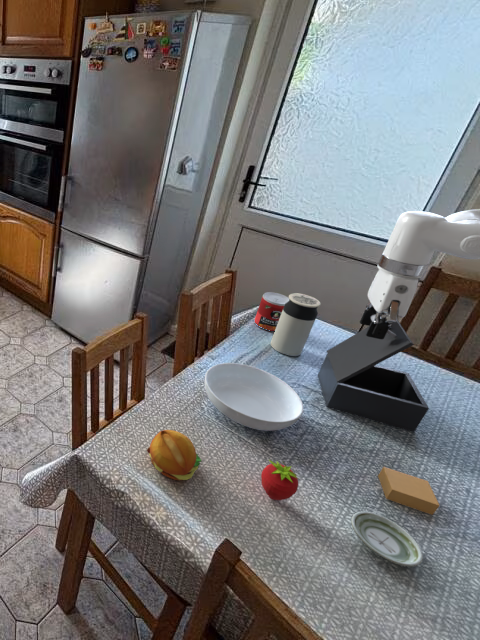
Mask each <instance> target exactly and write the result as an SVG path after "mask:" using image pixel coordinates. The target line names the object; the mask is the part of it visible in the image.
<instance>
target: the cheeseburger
mask: <svg viewBox="0 0 480 640" xmlns="http://www.w3.org/2000/svg"><path fill="white" fill-rule="evenodd" d="M193 443H194V442H193V441H192V440H191V439H190V438H189V437H188V436H187V435H186V434H184V433H182V432H180V431H176V430H174V429H163V430H160V431H159V432H158V433H157V434H156V435H154V437H153V438H152V440H151V442H150V444H149V447H148V448H147V449H146V452H147V453H148V455H149V457H150V458H149V459H150V462H151V464H152V465H153V467H154V469H156V470H157V471H158V472H159V473H160V474H162V475H163V476H165V477H166V478H169V479H171V480H174V481H175V480H176V481H180V482H181V481H187V480H190V479H192V478H193V476H194V474H195V472H196V471H197V470H198V469H199V466H200V465H201V463H202V462H203V461H202V458H201V457H200V456H199V455H198V453H197V450H196V447H195V445H194V444H193Z"/></svg>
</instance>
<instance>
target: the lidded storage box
mask: <svg viewBox="0 0 480 640" xmlns="http://www.w3.org/2000/svg"><path fill="white" fill-rule="evenodd" d="M317 379H318V383H319V386H320V389H321V393H322V396H323V399H324V403H325V406H326V408H328V409H331V410H335V411H339V412H342V413H345V414H348V415H352V416H355V417H358V418H363V419H366V420H370V421H372V422H376V423H381V424H384V425H386V426H390V427H393V428H397V429H400V430H404V431H408V432H410V433H415V432H416V430H417V428H418V427H419V425H420V423H421V422H422V421H423V419H424V417H425V416H426V414H427V413H428V411H429V410H430V407H429V406H428V404H427V402H426V400H425V399H424V397H423V396H422V394H421V392H420V390H419V389H418V387H417V385H416V383H415V382H414V379H413V378H412V376H411V375H410V373H409V372H406V371H402V370H398V369H395V368H389V367H385V366H382V365H378V364H376V365H375V366H373V367H371V368H369V369H367V370H365V371H363V372H361V373H359V374H357V375H355V376H354V377H352V378H350V379H348V380H346V381H344V382H342V383H338V382H337V380H336V377H335V374H334V371H333V368H332V365H331V362H330V359H329V356H328V353H327V352H326V355H325V357H324V360H323V363H322V364H321V366H320V368H319V371H318V373H317Z"/></svg>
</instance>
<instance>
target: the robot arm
mask: <svg viewBox="0 0 480 640" xmlns="http://www.w3.org/2000/svg"><path fill="white" fill-rule="evenodd" d="M435 252H439V253H443V254H446V255H450V256H452V257H457V258H460V259H467V260H480V208H476V209H475V208H474V209H468V210H463V211H462V210H461V211H459V212H455V213H451V214H450V215H448V216H446V217H444V216H442V215H439V214H436V213H433V212H429V211H428V212H427V211H422V210H421V211H420V210H419V211H418V210H410V211H405V212H403V213H401V214H400V215H399V217H398V218H397V220H396V223H395V225H394V227H393V230H392V231H391V234H390V236H389V238H388V241H387V243H386V245H385V247H384V249H383V252H382V254H381V256H380V258H379V261H378V263H377V266H376V267H377V269H378V270H377V272H376V274H375V276H374V278H373V279H372V282H371V283H370V286H369V289H368V291H367V298H368V302H367V304H366V306H365V309H364V311H363V313H362V316H361V318H360V320H359V324H360V325H364V326H367V327H368V326H369V328H368V330H367V332H366V336H368V337H372V338H377V339H384V337H385V335H386V333H387V331H388V329H389V327H390V326H391V324H392V323H395V322H396V320H398V317H399V318H404V317H406V315H407V313H408V311H409V309H410V307H411V304H412V301H413V299H414V296H415V294H416V291H417V289H418V288H417V287H418V284H419V279H421V278H422V277H423V276H424V274H425V272H426V270H427V268H428V266H429V265H430V263H431V260H432V258H433V256H434V254H435ZM374 314H376V316H375V319H374V322H373V321H372V320H371V316H372V315H374ZM382 316H383V317H382ZM386 316H387V317H386ZM380 317H382V318H380ZM384 317H386V318H384Z"/></svg>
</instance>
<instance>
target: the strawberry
mask: <svg viewBox="0 0 480 640" xmlns="http://www.w3.org/2000/svg"><path fill="white" fill-rule="evenodd" d="M268 461H269V464H268V465H266V466H265V467H264V468H263V469H262V471H261V475H260V477H261V478H260V481H261V486H262V488H263V490H264V492H265V493H266V496H268V497H269V498H270V500H273V501H284V500H288V499H290V498H292V497H293V496H294V495H295V494H296V493H297V492H298V489H299V477H298V476H297V474H296V473H295V472H294V471H293V470H292V469H291V468H292V467H293V466H292V465H286V464H285V462H284V461H283V460H282V461H281V462H282V463H279V461H278V460H276V461H275V462H274V461H272V460H271V459H268Z"/></svg>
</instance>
